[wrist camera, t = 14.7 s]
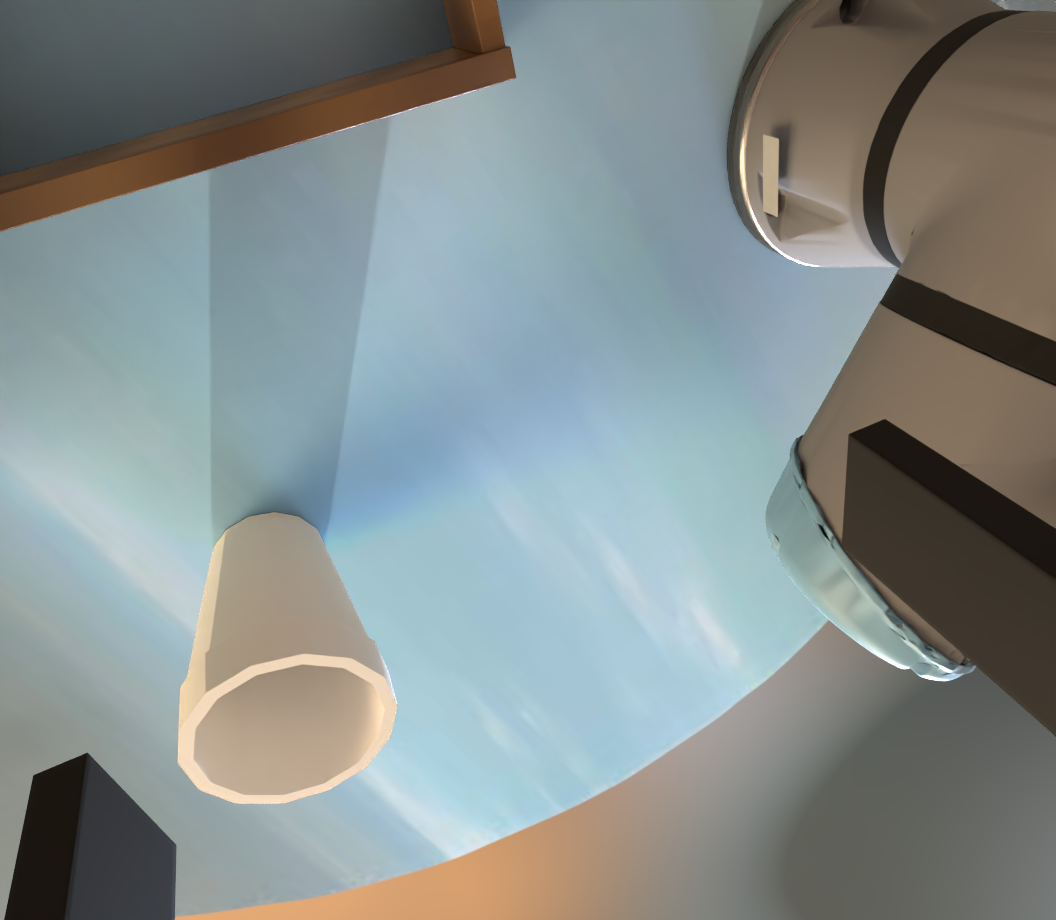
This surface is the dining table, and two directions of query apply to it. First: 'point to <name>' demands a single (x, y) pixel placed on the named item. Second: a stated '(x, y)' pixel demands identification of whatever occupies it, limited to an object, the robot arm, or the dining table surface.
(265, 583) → the foam cup
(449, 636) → the dining table surface
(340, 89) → the brown wooden shallow box
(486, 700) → the dining table surface
